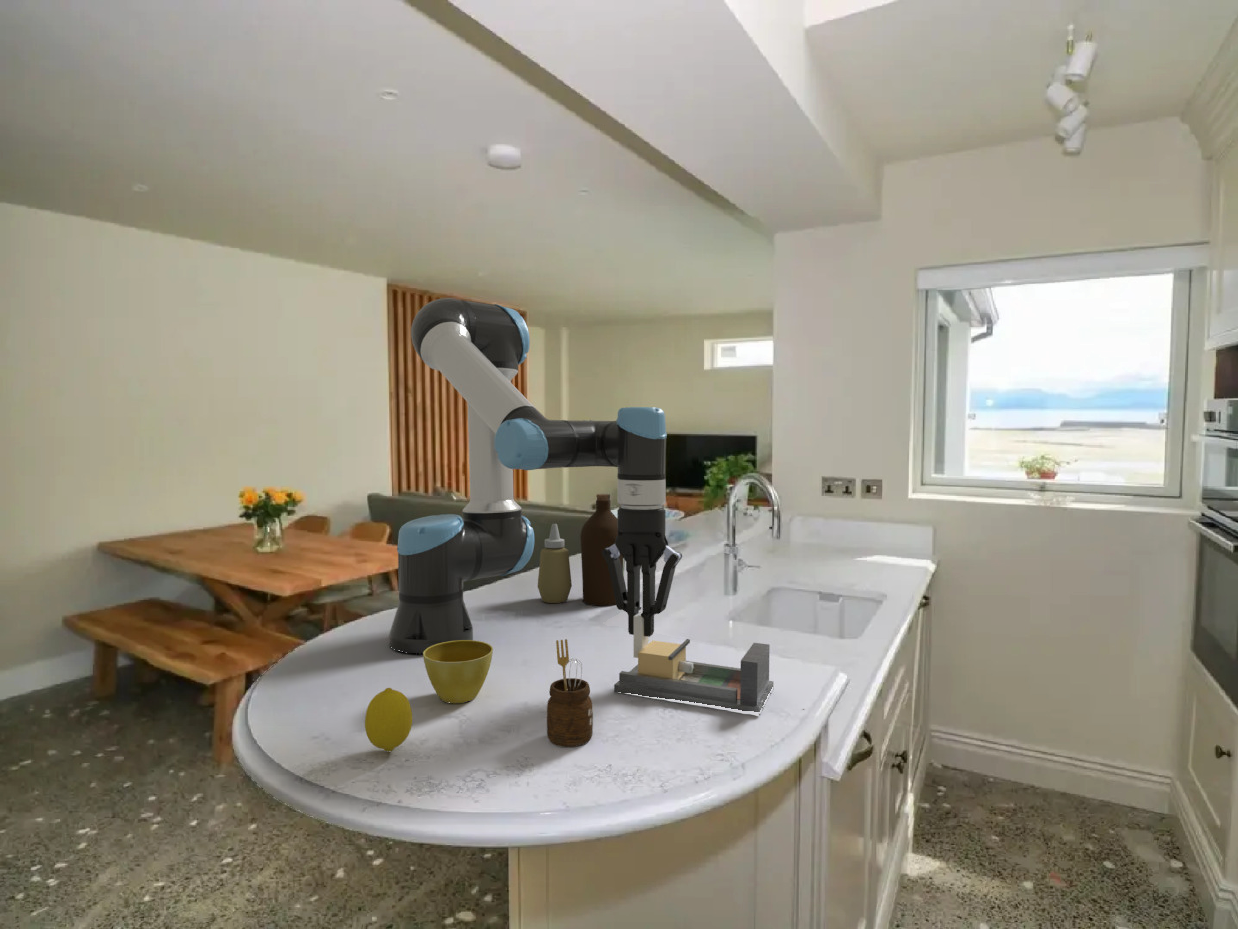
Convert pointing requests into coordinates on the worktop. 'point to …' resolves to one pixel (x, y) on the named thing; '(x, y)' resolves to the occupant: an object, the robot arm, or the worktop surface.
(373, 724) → the lemon
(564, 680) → the utensil holder
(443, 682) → the yellow bowl
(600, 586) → the olive oil
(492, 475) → the robot arm
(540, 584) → the squeeze bottle
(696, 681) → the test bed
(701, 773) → the worktop surface
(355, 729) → the worktop surface
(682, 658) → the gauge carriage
